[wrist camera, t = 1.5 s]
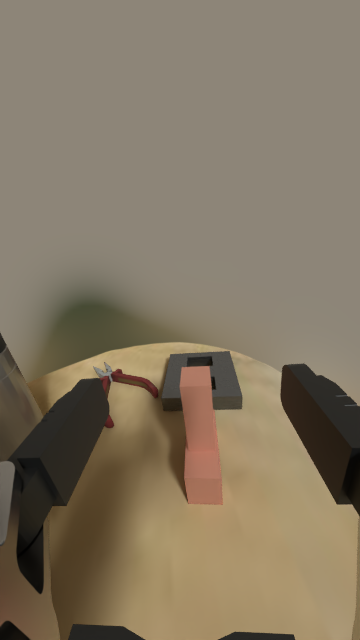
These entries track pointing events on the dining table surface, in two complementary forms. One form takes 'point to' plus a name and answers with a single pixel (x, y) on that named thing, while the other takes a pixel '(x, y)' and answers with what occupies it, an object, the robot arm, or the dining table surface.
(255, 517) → the dining table surface
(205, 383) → the pink tall block
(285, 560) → the dining table surface
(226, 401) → the grey socket board
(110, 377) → the pliers
